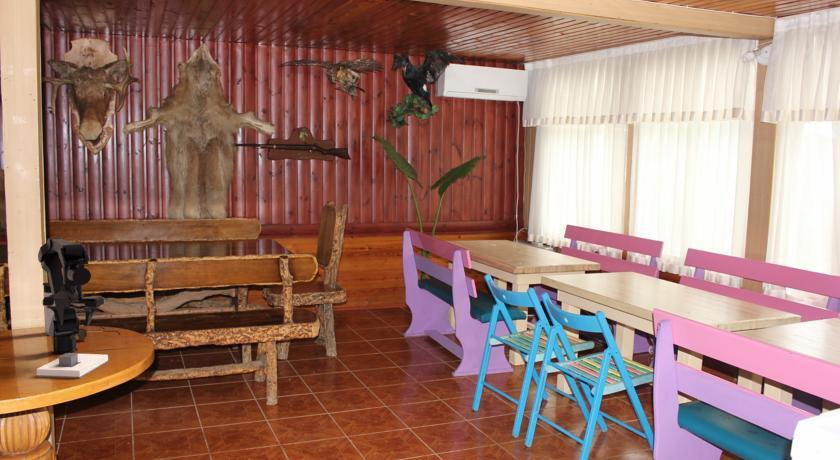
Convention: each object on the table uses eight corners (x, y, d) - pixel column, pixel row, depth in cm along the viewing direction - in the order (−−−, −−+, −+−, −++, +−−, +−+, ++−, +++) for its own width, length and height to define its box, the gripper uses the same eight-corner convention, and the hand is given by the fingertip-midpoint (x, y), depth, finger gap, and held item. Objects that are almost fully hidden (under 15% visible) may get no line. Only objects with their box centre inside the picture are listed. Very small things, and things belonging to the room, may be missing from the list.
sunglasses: (67, 336, 274) (67, 323, 274) (103, 332, 286) (104, 320, 286) (86, 343, 266) (86, 330, 266) (123, 338, 278) (123, 326, 277)
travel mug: (48, 331, 280) (46, 281, 278) (65, 331, 281) (64, 281, 279) (41, 335, 274) (39, 284, 272) (59, 335, 275) (57, 284, 272)
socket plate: (36, 376, 224) (36, 369, 224) (68, 360, 242) (67, 353, 242) (79, 378, 224) (79, 370, 223) (107, 361, 242) (107, 354, 241)
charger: (59, 371, 228) (58, 356, 228) (66, 368, 232) (65, 353, 232) (71, 372, 228) (70, 357, 227) (78, 368, 232) (77, 353, 231)
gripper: (31, 284, 233) (33, 330, 234) (87, 285, 232) (88, 332, 233) (51, 278, 244) (52, 322, 245) (104, 279, 243) (105, 324, 244)
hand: (74, 325), depth 242 cm, fingers open, 9 cm apart
